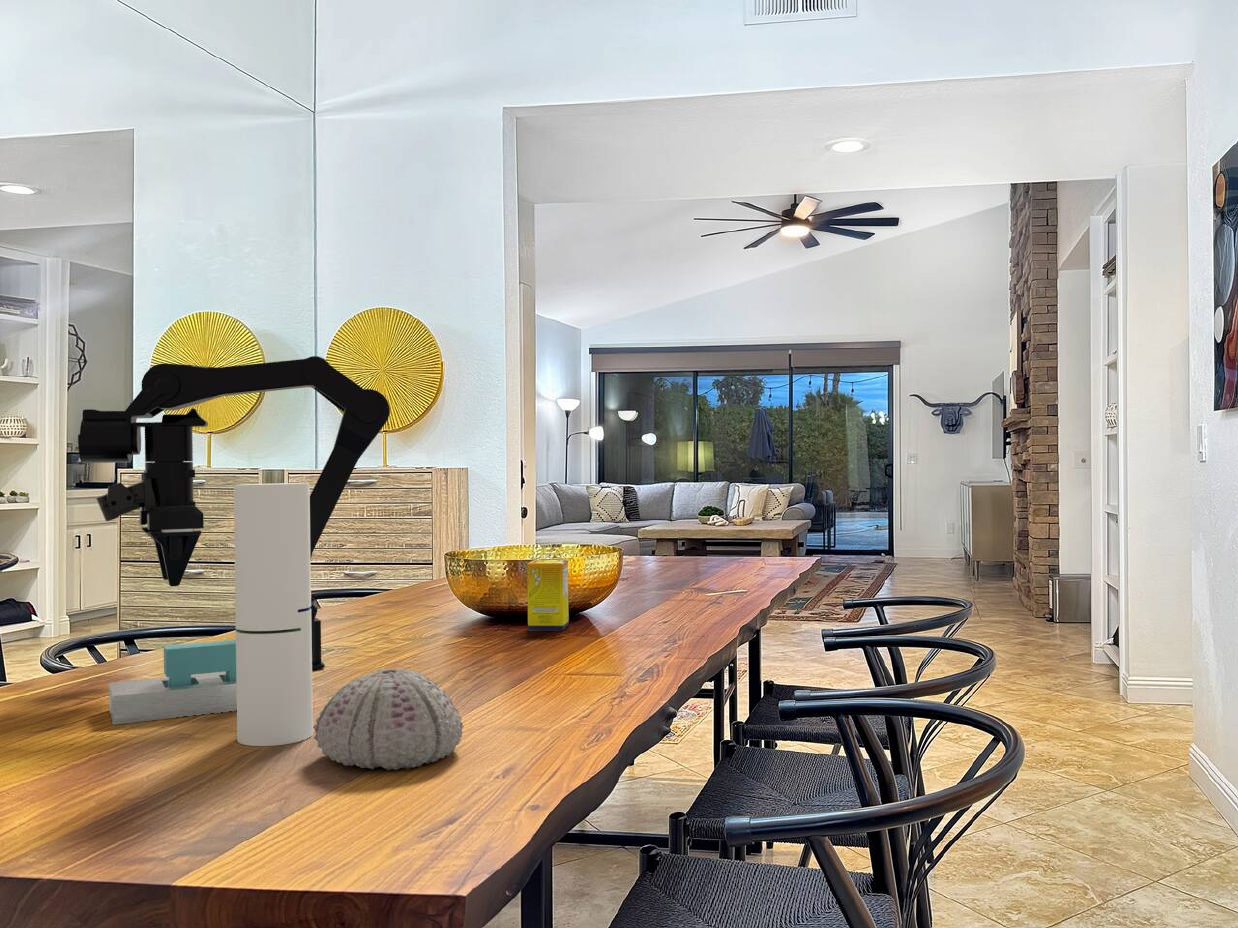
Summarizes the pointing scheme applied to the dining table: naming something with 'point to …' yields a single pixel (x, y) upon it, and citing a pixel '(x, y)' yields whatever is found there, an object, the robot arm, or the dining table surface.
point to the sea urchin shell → (388, 721)
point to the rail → (170, 698)
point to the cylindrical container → (273, 613)
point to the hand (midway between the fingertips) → (170, 582)
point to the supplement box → (547, 595)
